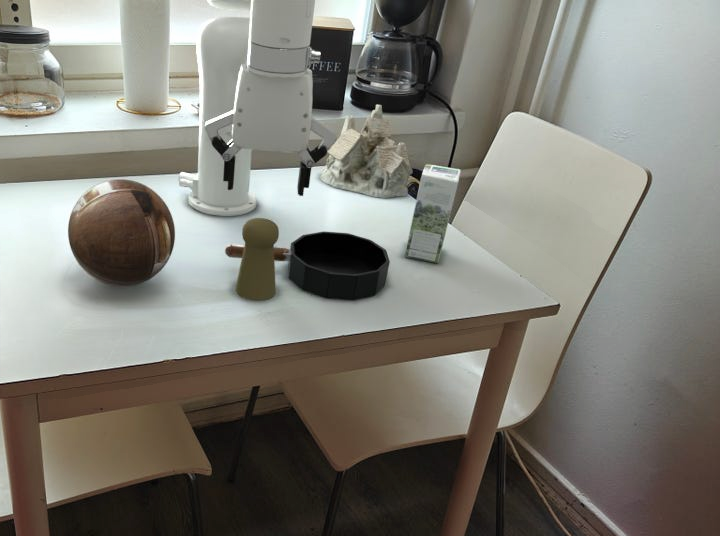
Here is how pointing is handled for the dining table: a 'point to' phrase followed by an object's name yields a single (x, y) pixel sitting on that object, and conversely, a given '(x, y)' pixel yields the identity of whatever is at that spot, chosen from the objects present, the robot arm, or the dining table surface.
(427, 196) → the syrup box
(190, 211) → the dining table surface
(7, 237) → the dining table surface
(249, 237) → the olive game pawn
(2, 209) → the dining table surface
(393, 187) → the ceramic cottage
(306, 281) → the frying pan
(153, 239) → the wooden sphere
